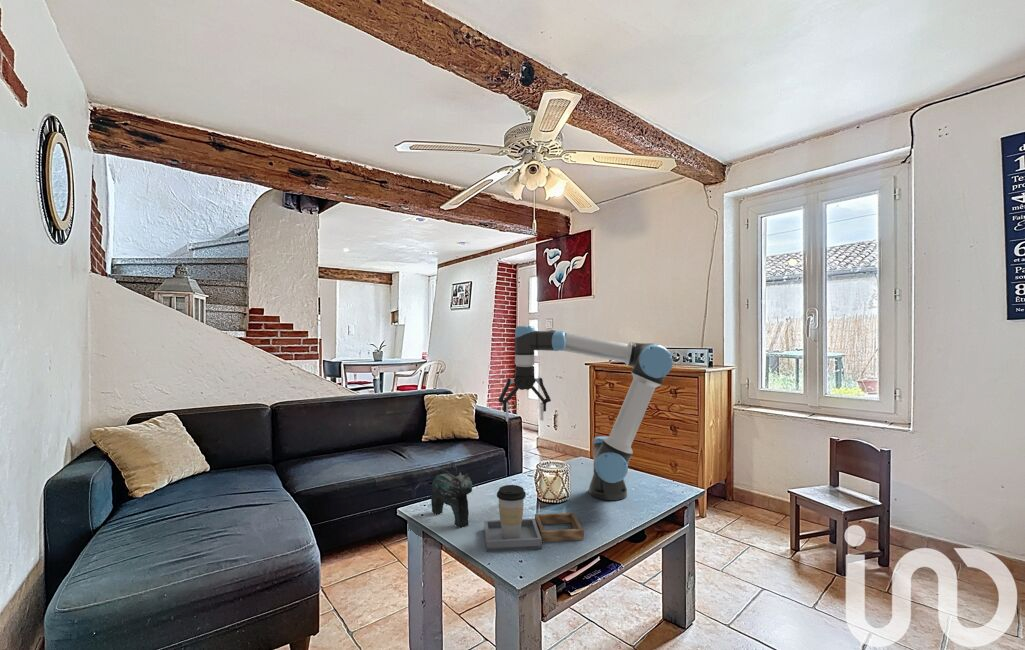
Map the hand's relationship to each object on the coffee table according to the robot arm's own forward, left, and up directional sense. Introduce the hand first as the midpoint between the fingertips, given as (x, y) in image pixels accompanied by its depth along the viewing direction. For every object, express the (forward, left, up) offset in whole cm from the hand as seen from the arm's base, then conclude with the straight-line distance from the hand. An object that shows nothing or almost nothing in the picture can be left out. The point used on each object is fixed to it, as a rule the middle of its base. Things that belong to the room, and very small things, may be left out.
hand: (524, 420), depth 178 cm
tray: (+8, +30, -32) cm, 44 cm away
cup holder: (-8, +26, -32) cm, 42 cm away
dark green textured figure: (+29, +14, -32) cm, 45 cm away
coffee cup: (+8, +30, -31) cm, 44 cm away
